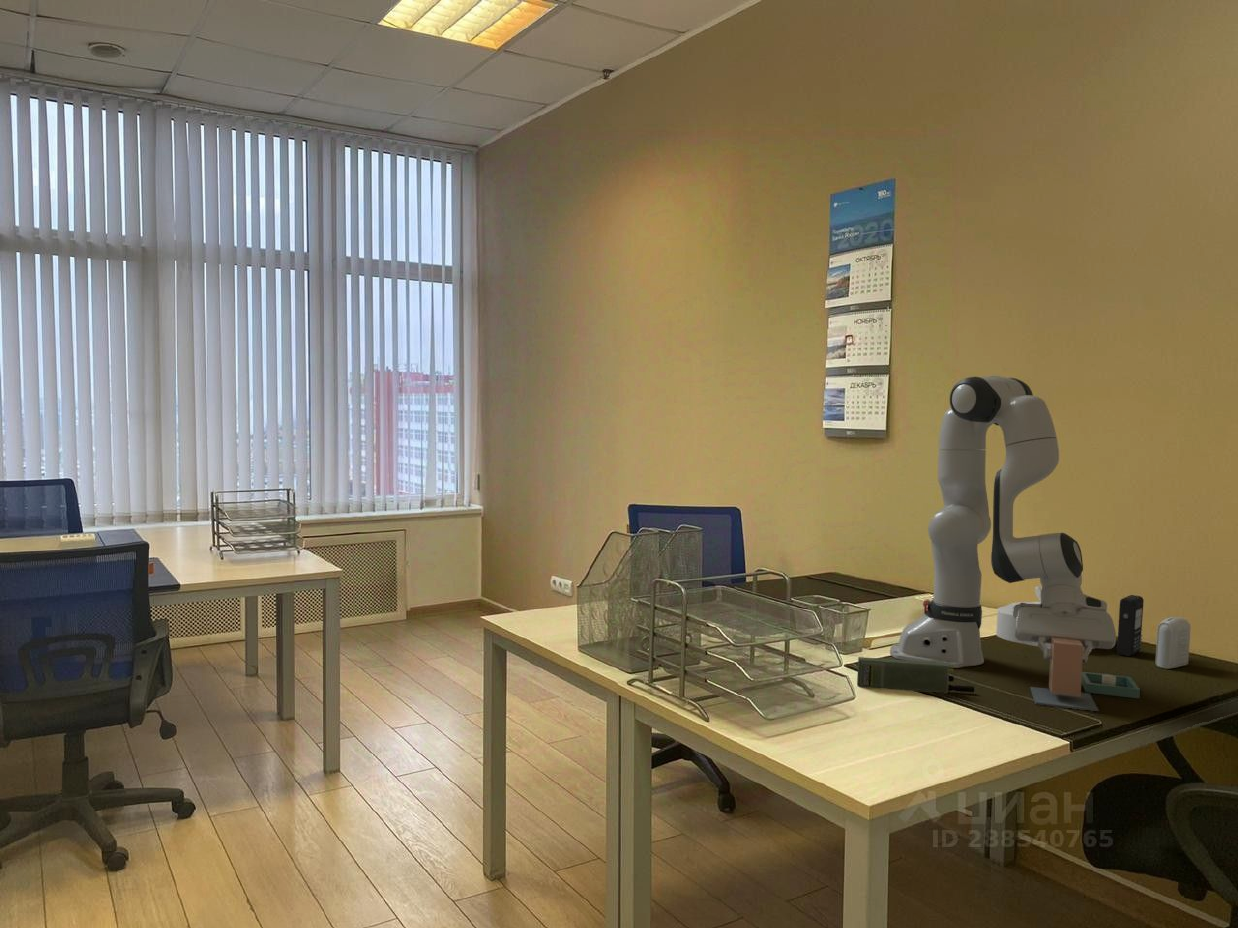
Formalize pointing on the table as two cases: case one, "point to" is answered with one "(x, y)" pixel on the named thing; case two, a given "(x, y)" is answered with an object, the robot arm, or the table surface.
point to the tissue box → (1014, 622)
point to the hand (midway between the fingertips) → (1065, 659)
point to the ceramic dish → (1110, 685)
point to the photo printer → (1173, 643)
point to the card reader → (1130, 625)
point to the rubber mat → (1063, 700)
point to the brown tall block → (1066, 666)
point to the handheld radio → (907, 675)
